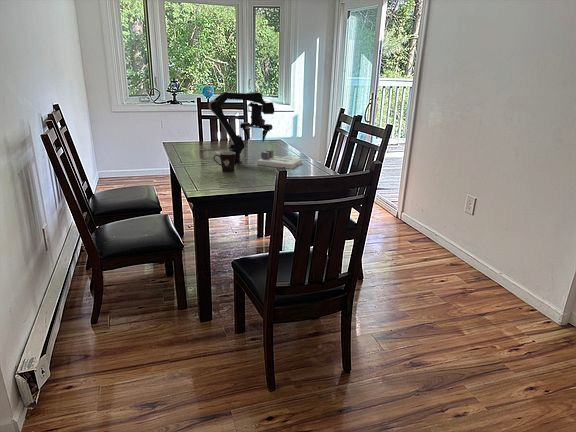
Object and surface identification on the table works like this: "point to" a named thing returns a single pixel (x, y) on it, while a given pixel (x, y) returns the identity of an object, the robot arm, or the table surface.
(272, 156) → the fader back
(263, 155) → the fader front
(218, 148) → the table surface
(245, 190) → the table surface
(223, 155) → the coffee mug
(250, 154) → the table surface
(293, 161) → the console
